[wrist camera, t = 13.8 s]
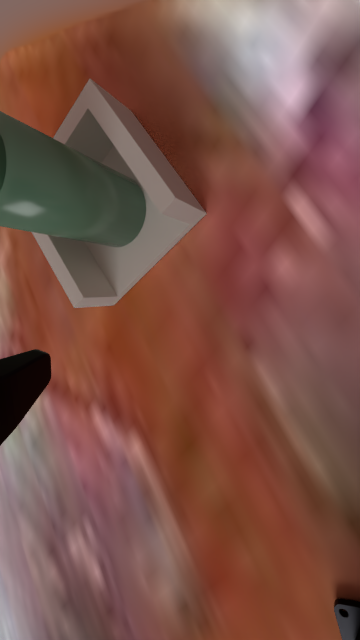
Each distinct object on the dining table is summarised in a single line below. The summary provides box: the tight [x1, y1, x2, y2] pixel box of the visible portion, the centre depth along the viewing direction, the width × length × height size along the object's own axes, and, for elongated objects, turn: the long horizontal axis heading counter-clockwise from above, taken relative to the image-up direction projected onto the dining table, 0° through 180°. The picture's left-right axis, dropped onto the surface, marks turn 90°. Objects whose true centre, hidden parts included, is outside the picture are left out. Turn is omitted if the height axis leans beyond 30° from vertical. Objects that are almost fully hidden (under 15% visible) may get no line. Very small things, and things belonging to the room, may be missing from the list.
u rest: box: [32, 79, 207, 308], centre depth 23 cm, size 10×10×4 cm
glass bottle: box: [0, 111, 146, 247], centre depth 17 cm, size 5×5×14 cm
